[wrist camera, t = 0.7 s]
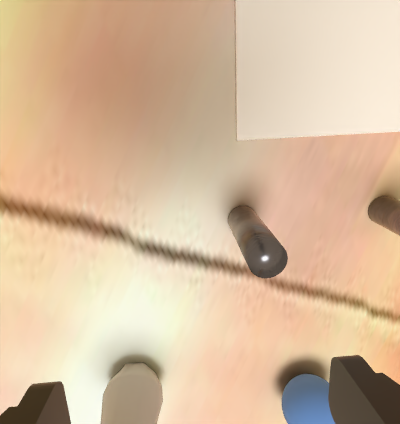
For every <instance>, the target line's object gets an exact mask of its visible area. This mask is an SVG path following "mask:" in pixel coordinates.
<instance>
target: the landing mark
mask: <svg viewBox="0 0 400 424" xmlns="http://www.w3.org/2000/svg"><path fill="white" fill-rule="evenodd" d="M235 35H236V135H237V141H240V140H257V139H275V138H293V137H311V136H328V135H346V134H364V133H381V132H399V131H400V0H235Z"/></svg>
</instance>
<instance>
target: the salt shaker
mask: <svg viewBox="0 0 400 424" xmlns="http://www.w3.org/2000/svg"><path fill="white" fill-rule="evenodd" d="M162 402H163V396H162V386H161V384H160V382H159V380H158V377H157V375H156V373H155V372H154V371H153V370H152V369H151V368H149V367H148V366H147V365H146V364H145V363H130V364H126V365H125V366H124V367H123V368H122V369H121V370H120V371H119V372H118V373H117V374H116V375H115V376H114V377H113V378H112V379H111V380H110V381H109V383H108V385H107V387H106V389H105V392H104V394H103V402H102V415H101V424H157V420H158V416H159V413H160V409H161V405H162Z"/></svg>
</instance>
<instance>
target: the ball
mask: <svg viewBox="0 0 400 424" xmlns="http://www.w3.org/2000/svg"><path fill="white" fill-rule="evenodd" d="M328 394H329V383H328V382H327V381H326V380H324V379H323V378H321V377H319V376H316V375H312V374H301V375H298V376H296V377H294V378H293V379H291V380H290V381H289V382H288V383H287V385H286V387H285V389H284V391H283V395H282V410H283V414H284V417H285V419H286V421H287V423H288V424H335V422H334V420H333V417H332V415H331V411H330V407H329V401H328Z"/></svg>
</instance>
